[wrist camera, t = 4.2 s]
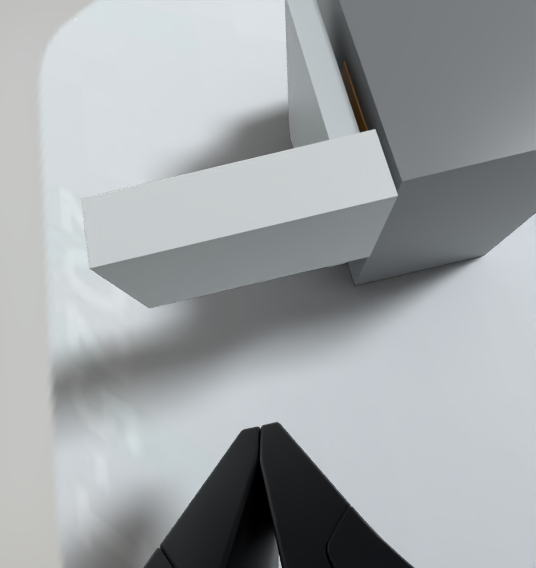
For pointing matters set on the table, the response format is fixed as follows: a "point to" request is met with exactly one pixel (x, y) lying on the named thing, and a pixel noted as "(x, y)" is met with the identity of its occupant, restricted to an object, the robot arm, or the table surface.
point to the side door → (254, 197)
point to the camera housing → (442, 121)
